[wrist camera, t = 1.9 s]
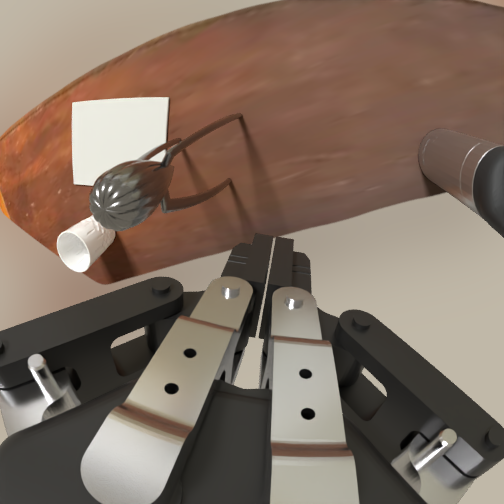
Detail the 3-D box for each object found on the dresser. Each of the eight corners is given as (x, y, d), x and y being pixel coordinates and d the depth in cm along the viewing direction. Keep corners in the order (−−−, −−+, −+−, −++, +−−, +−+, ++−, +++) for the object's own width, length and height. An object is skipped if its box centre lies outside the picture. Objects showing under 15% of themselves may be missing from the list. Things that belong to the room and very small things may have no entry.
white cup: (101, 253, 57) (74, 278, 49) (80, 222, 55) (50, 243, 46) (125, 237, 55) (97, 262, 46) (103, 203, 52) (71, 223, 43)
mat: (169, 97, 42) (168, 97, 42) (165, 192, 49) (164, 192, 49) (73, 102, 43) (72, 102, 43) (75, 183, 51) (74, 184, 51)
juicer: (229, 183, 47) (144, 291, 21) (176, 140, 45) (39, 198, 19) (270, 136, 43) (223, 189, 17) (213, 91, 41) (88, 83, 15)
